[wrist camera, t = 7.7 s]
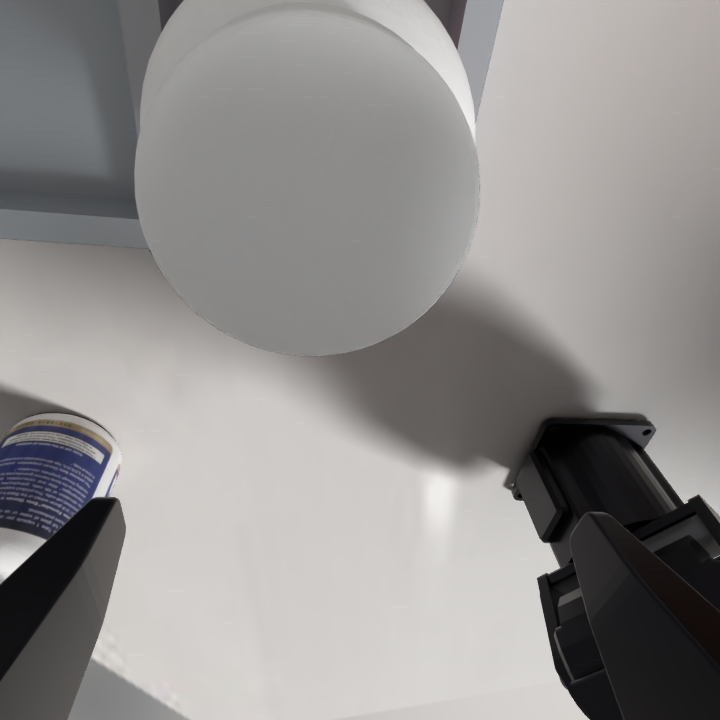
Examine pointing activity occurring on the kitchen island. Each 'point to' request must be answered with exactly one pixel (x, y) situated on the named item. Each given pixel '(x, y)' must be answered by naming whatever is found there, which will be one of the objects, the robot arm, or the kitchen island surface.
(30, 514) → the pill bottle
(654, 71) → the kitchen island surface
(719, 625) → the robot arm
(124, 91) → the carton tray
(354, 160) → the pill bottle
